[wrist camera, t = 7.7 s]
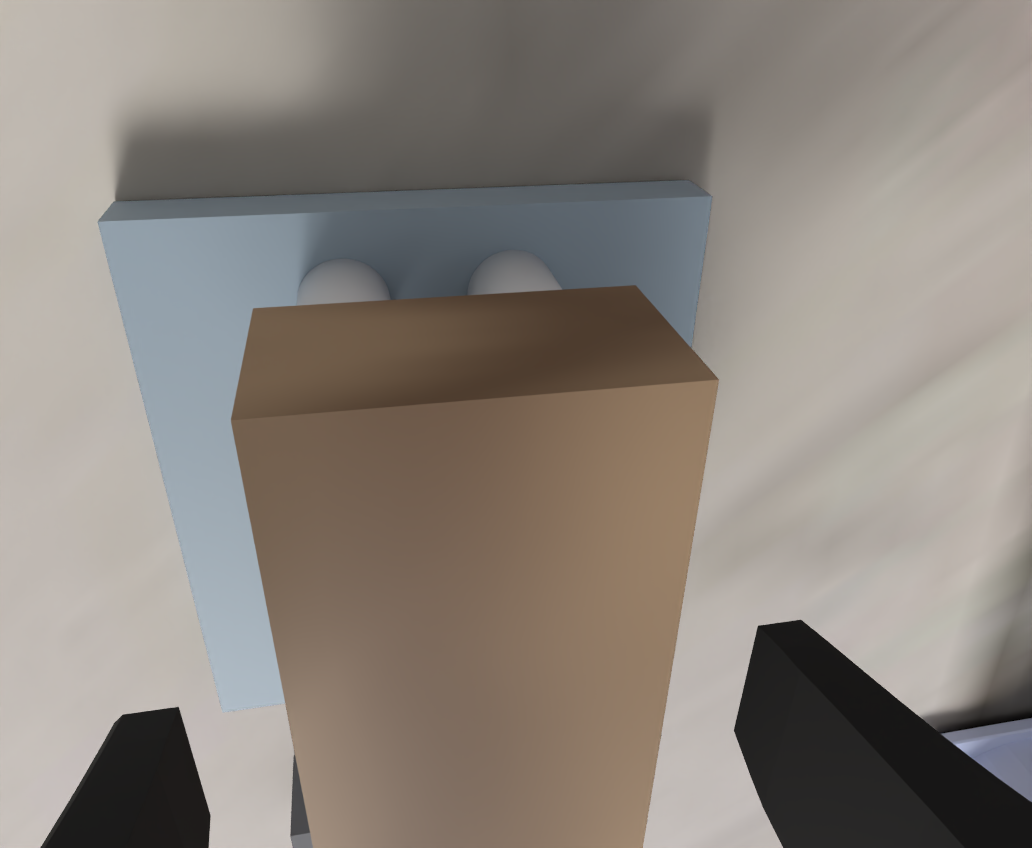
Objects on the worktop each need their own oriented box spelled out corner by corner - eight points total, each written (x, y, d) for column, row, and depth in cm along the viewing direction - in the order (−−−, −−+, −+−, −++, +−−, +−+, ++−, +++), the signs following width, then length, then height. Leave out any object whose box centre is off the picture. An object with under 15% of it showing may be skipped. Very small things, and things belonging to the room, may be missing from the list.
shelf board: (635, 285, 10) (718, 380, 8) (586, 794, 15) (628, 934, 13) (253, 308, 9) (231, 420, 7) (339, 837, 14) (341, 993, 12)
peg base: (688, 180, 14) (807, 260, 10) (634, 618, 19) (701, 769, 15) (112, 201, 12) (30, 306, 9) (227, 674, 17) (203, 855, 14)
